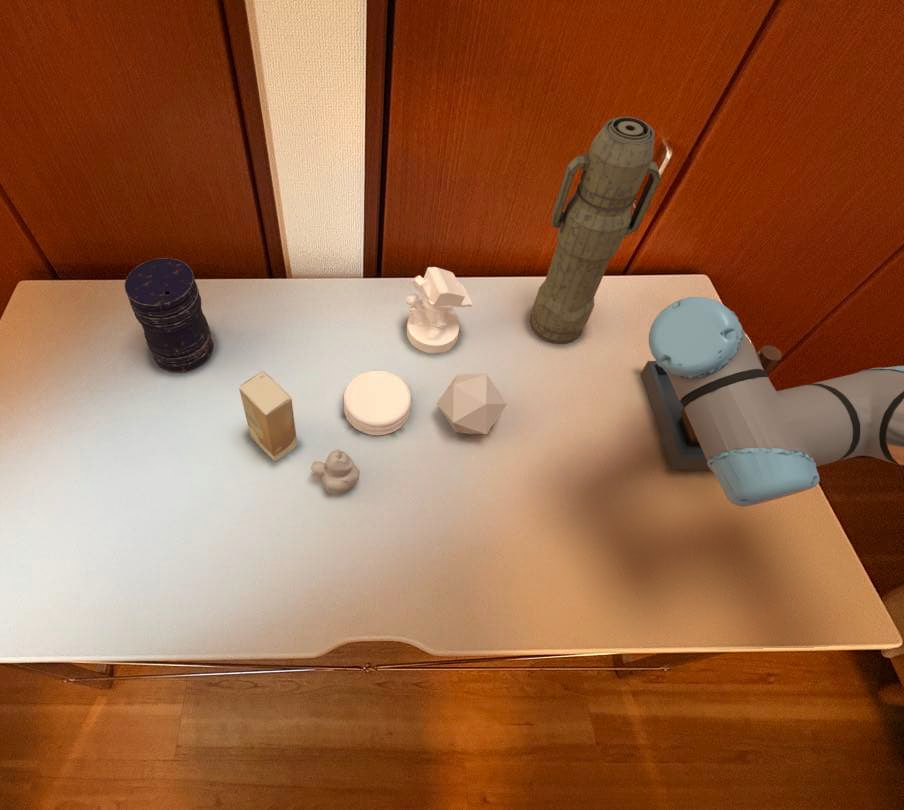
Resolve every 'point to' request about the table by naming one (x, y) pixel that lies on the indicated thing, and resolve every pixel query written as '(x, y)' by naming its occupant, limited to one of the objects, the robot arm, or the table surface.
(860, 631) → the table surface
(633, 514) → the table surface
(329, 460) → the rubber duck
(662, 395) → the tray
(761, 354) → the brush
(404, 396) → the coaster
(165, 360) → the dark blue cylinder
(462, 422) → the die
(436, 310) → the character figurine
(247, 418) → the cosmetic box
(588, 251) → the thermos
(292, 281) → the table surface
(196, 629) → the table surface
